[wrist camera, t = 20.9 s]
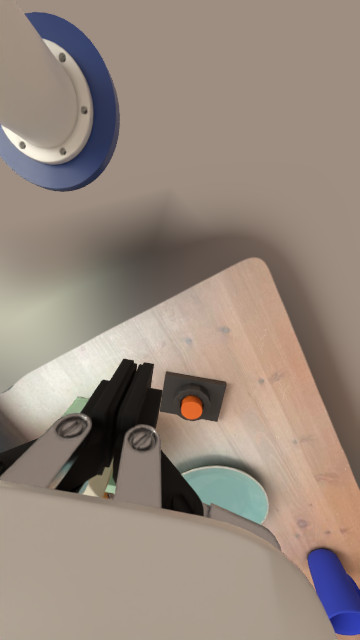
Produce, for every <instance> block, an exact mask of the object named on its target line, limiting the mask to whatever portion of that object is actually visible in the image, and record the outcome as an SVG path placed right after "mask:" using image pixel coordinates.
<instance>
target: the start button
mask: <svg viewBox="0 0 360 640" xmlns="http://www.w3.org/2000/svg"><path fill="white" fill-rule="evenodd" d="M181 413H182V415H183V416H184V417H186V418H187V419H197V418H199V417H200V416H201V414H202V402H201V400H200V399H199V398H198V397H196V396H192V395H191V396H187V397H185V398H184V399H183V400H182V405H181Z"/></svg>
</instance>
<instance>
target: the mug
mask: <svg viewBox="0 0 360 640" xmlns="http://www.w3.org/2000/svg"><path fill="white" fill-rule="evenodd" d="M308 565H309V569H310V572H311V576H312V579H313V582H314V586H315V589H316V592H317V595H318V597H319V599H320V601H321V603H322V605H323V607H324V609H325V611H326V613H327V615H328V618H329V620H330V622H331V624H332V626H333V629H334V631H335V633H337V634H341V635H357V634H360V589H359V588H358V586H357V585H356V583H355V582H354V580H353V579H352V578H351V577H350V576H349V575H348V574H347V573H346V571H345V569H344V568H343V566H342V564H341V562H340V560H339V559H338V557H337V556H336V555H335V554H334V553H333V552H332V551H330V550H327V549H317V550H314V551H312V552H311V553H310V554H309V556H308Z"/></svg>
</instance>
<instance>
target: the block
mask: <svg viewBox="0 0 360 640" xmlns="http://www.w3.org/2000/svg"><path fill="white" fill-rule="evenodd" d="M225 389H226V382H223V381H217V380H211V379H206V378H200V377H194V376H188V375H183V374H177V373H171V372H166V374H165V381H164V387H163V394H162V400H161V407H160V412H166V413H171V414H177V415H179V416H180V417H181V418H183V419H185V420H190V421H196V420H200V419H205V420H210V421H216V422H217V421H218V417H219V413H220V409H221V405H222V401H223V397H224V393H225ZM191 395H192V396H196V397H198V398H199V399H200V400H201V402H202V414H201V416H200V417H199V418H197V419H187V418H186V417H184V416H183V415H182V413H181V405H182V400H183V399H184V398H185V397H187V396H191Z"/></svg>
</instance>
